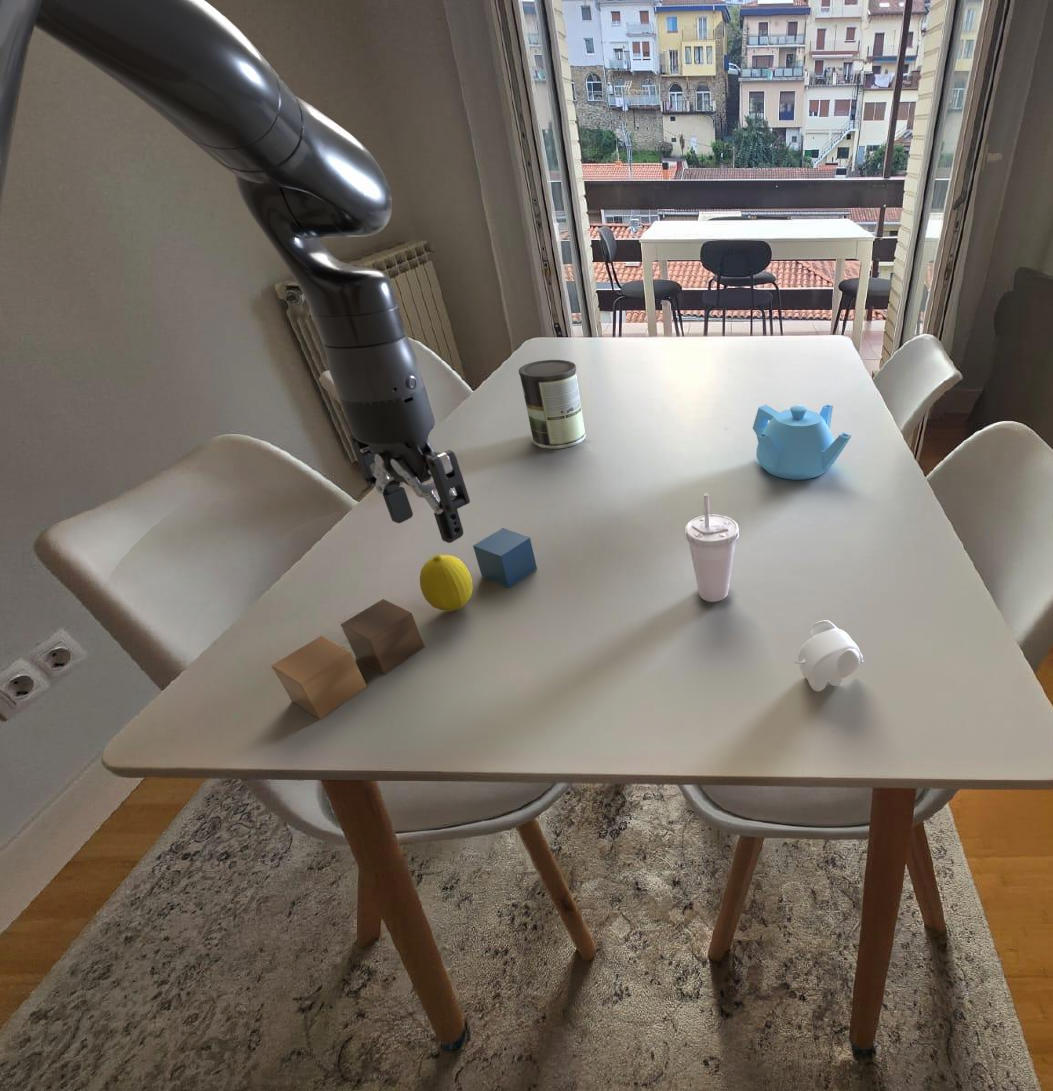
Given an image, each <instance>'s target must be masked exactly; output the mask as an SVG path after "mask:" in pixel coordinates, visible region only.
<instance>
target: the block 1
mask: <svg viewBox="0 0 1053 1091" xmlns="http://www.w3.org/2000/svg"><path fill="white" fill-rule="evenodd" d="M270 666H271V669H272V670H273V671H274V673H275V675H276V677H277V678H278V680H279V682H280V683H281V685H282V687H283V688H284V690H285V692H286V693H287V696H288V698H289V699H290V700H291V702H293V703H294V704H296V705H297V706H299V707H300V708H302V709H303V710H305V711H306V712H308V713H310V714H311V715H313V717H315V718H317V719H318V720H322V719H323V718H325V717H326V716H327V715H329V714H330V713H332V712H333V711H335V710H336V709H337V708H339V707H341V706H342V705H343V704H344V703H346V702H348V701H349V700H350V699H352V698H353V697H354V696H356V695H357V694H359V693H360V692H362V691H364V689H367V687H368V686H367V684H366V681H365V679H364V677H363V676H362V673H361V671H360V669H359V667H358V665H357V663H356V661H355V658H354V656H353V654H352V652H351V651H350V650H349V649H346V648H345V647H342V645H340V644H337V643H336V642H334V641H332V640H330V639H328V638H327V637H324V636H323V635H320V636H318V637H316V638H315V639H313V640H312V641H310V642H308V643H307V644H305V645H303V646H301V647H300V648H298V649H296V650H294V651H293V652H291V653H289V654H288V655H286V656H284V657H283V658H281V659H279V660H278V661H276V662H275V663H273V664H271V665H270Z"/></svg>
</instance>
